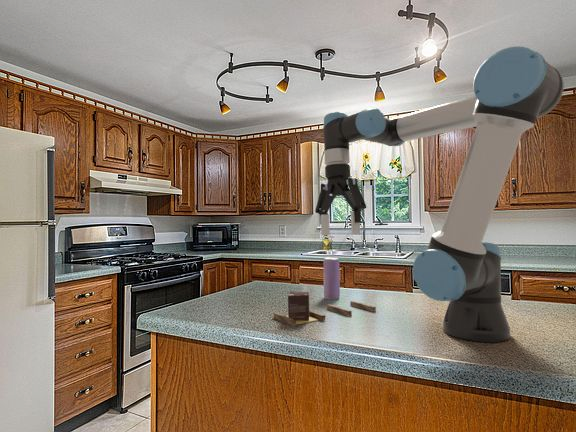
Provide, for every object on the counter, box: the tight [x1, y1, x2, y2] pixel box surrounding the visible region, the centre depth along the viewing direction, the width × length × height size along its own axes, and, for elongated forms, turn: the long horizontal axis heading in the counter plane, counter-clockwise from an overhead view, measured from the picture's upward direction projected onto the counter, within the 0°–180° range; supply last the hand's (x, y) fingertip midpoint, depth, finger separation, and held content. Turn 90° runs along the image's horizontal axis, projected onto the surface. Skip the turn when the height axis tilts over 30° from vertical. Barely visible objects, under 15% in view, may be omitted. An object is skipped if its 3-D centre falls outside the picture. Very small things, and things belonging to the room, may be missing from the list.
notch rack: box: [273, 300, 377, 327], centre depth 114 cm, size 11×31×2 cm, turn 121°
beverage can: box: [323, 257, 341, 300], centre depth 139 cm, size 6×6×15 cm
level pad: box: [286, 315, 319, 326], centre depth 109 cm, size 9×8×1 cm
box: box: [287, 291, 310, 320], centre depth 109 cm, size 6×6×7 cm
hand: (340, 235), depth 111 cm, fingers open, 13 cm apart
